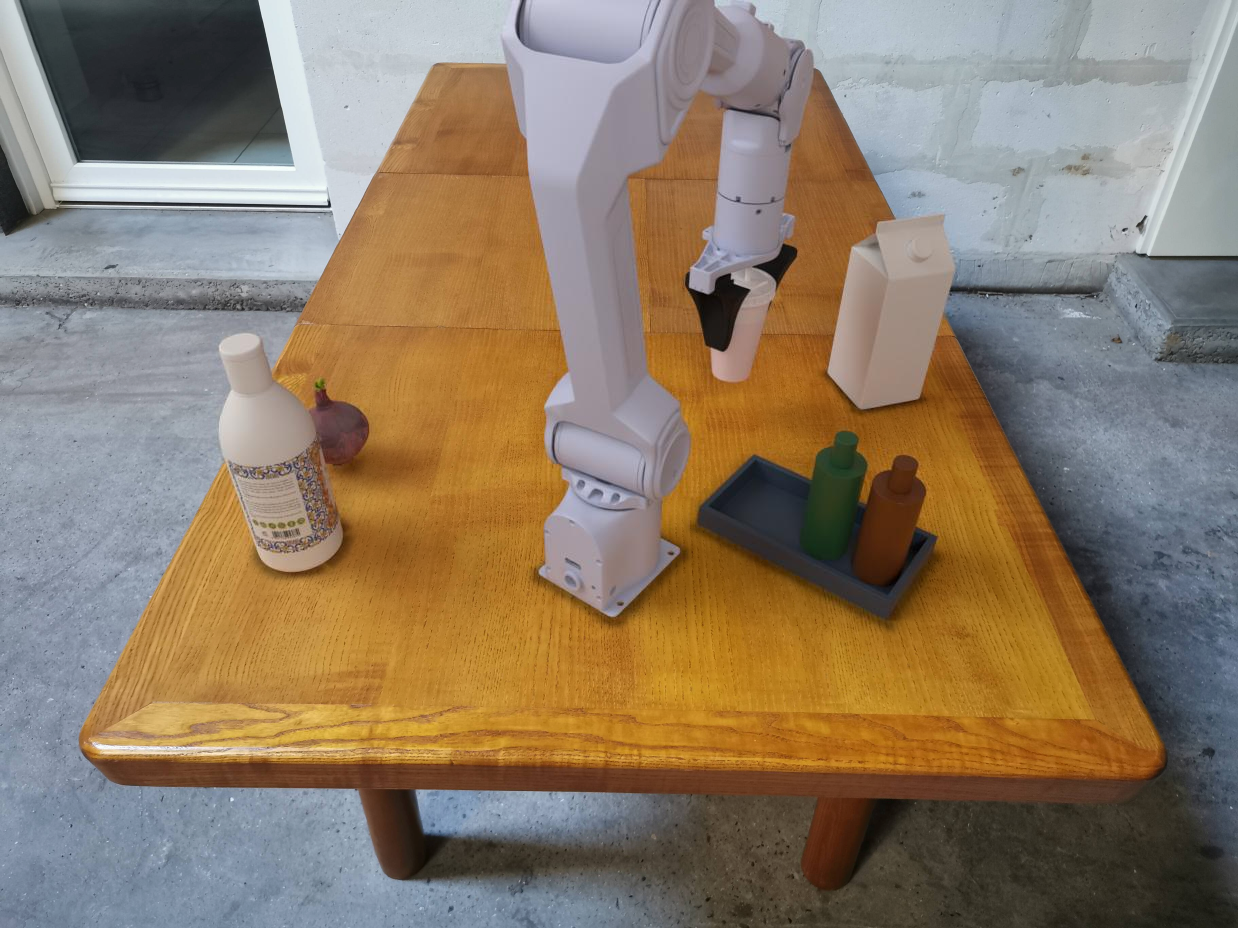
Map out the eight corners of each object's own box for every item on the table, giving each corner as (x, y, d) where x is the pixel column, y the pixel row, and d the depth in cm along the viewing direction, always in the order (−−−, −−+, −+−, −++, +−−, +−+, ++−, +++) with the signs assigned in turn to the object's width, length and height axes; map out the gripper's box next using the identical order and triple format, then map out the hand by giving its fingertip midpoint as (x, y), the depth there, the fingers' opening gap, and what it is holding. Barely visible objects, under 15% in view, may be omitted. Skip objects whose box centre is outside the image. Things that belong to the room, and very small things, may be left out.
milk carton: (826, 374, 95) (858, 207, 83) (884, 364, 97) (924, 199, 85) (859, 411, 90) (898, 239, 78) (919, 400, 92) (967, 229, 80)
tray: (885, 624, 69) (892, 602, 67) (696, 527, 77) (698, 506, 75) (931, 557, 74) (938, 536, 73) (750, 474, 82) (753, 453, 81)
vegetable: (295, 480, 81) (269, 390, 75) (327, 440, 86) (304, 352, 79) (356, 490, 80) (335, 400, 74) (385, 449, 85) (367, 361, 78)
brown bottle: (888, 594, 70) (921, 486, 63) (842, 571, 72) (869, 464, 65) (908, 565, 73) (942, 459, 65) (864, 544, 75) (892, 438, 67)
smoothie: (767, 391, 83) (788, 253, 74) (699, 389, 83) (711, 251, 74) (760, 354, 87) (778, 221, 79) (696, 353, 88) (706, 219, 79)
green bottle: (834, 567, 72) (859, 460, 65) (791, 546, 74) (811, 440, 67) (855, 540, 75) (882, 434, 68) (813, 520, 77) (835, 415, 70)
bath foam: (354, 556, 73) (302, 353, 61) (269, 586, 71) (196, 380, 58) (332, 507, 78) (279, 309, 65) (251, 533, 75) (179, 332, 63)
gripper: (753, 155, 80) (738, 290, 89) (662, 206, 71) (655, 350, 80) (823, 174, 77) (801, 311, 85) (737, 229, 68) (722, 377, 76)
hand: (735, 332), depth 82 cm, fingers closed on smoothie, 6 cm apart
